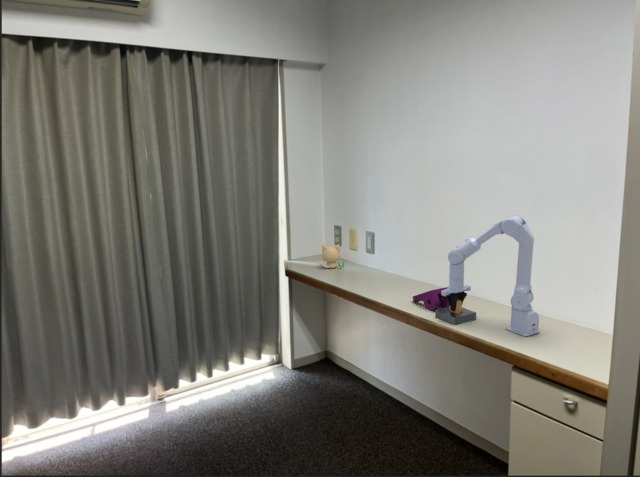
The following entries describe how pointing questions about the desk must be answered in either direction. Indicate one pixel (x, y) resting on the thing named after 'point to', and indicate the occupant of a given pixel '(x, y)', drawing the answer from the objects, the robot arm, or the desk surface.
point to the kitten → (331, 256)
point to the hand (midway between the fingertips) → (455, 309)
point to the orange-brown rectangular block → (457, 307)
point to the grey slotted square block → (455, 316)
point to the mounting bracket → (433, 299)
